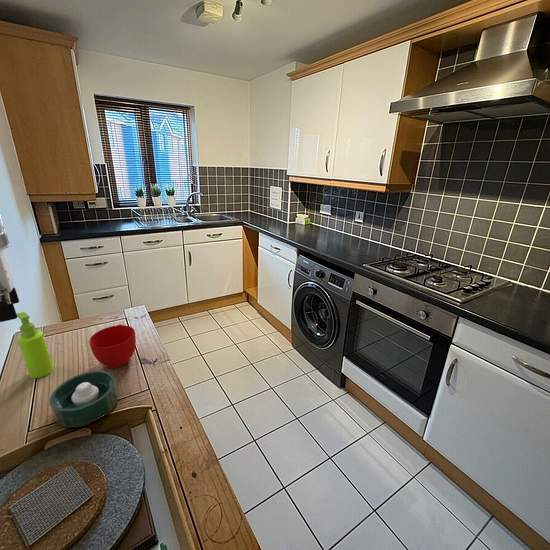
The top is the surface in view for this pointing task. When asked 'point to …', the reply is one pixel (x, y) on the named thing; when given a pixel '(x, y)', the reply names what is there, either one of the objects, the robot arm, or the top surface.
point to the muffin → (85, 394)
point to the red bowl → (113, 345)
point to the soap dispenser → (34, 348)
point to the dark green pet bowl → (81, 416)
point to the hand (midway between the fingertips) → (10, 311)
